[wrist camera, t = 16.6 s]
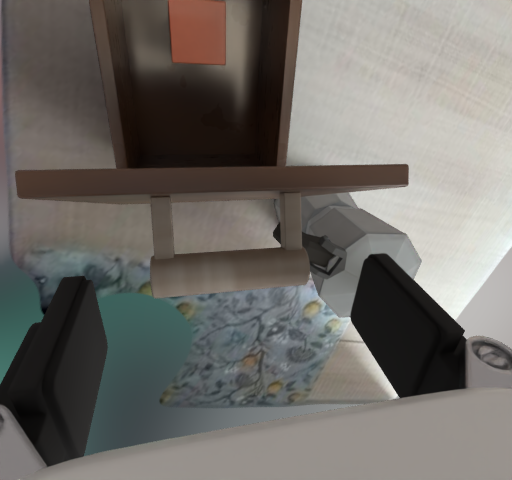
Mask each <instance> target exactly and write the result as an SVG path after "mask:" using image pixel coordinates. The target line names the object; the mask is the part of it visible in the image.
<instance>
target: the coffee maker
mask: <svg viewBox="0 0 512 480" xmlns="http://www.w3.org/2000/svg"><path fill="white" fill-rule="evenodd" d="M274 205H275V209H276V213H277V217H278V221H279V224H278V225H277V227H276V228H275V230H274V232H273V237H274V238H275V239H276V240H277V241H278V242H279V243H280V244H281V230H280V199H276V200H275V202H274ZM301 230H302V247H304V248H305V250H306V252H307V254H308V258H309V264H310V272H311V275H312V278H313V281H314V284H315V287H316V290H317V292H318V295H319V296H320V298H321V299H322V300H323V301H324V302H325V303H326V304H327V305H328V306H329V307H330V308H331V309H332V311H333V312H334V313H335V314H336V315H337V316H338V317H350V314H351V309H352V305H353V301H354V297H355V293H356V289H357V285H358V282H359V278H360V274H361V270H362V266H363V262H364V260H365V259H366V258H368V256H369V255H370V254H379V253H386V254H388V255H389V256H390V257H391V258H392V259H393V260H394V261H395V262H396V263H397V264H398V265H399V266H400V267H401V268H402V269H403V270H404V271H405V272H406V273H407V274H408V275H409V276H410V277H411V278H412V279H413V280H414V278H415V275H416V273H417V271H418V269H419V266H420V264H421V262H422V260H421V259H420V257H419V255H418V253H417V251H416V250H415V248H414V246H413V244H412V243H411V241H410V239H409V237H408V236H407V234H406V233H403V232H401V231H399V230H398V229H396V228H394V227H392V226H391V225H389V224H387V223H385V222H384V221H382V220H380V219H378V218H377V217H375V216H373V215H372V214H370V213H368V212H366V211H365V210H363V209H359V208H358V207H357V205H356V204H355V202H354V200H353V199H352V197H351V196H350V194H349V193H348V192H346V193H336V194H325V195H315V196H305V197H301Z"/></svg>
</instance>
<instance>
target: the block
mask: <svg viewBox="0 0 512 480" xmlns="http://www.w3.org/2000/svg"><path fill="white" fill-rule="evenodd" d="M168 12H169V27H170V42H171V57H172V62H173V63H187V64H208V65H225V64H226V2H225V1H217V0H168Z"/></svg>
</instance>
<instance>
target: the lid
mask: <svg viewBox="0 0 512 480" xmlns="http://www.w3.org/2000/svg"><path fill="white" fill-rule="evenodd" d="M408 173H409V166H408V165H407V164H384V165H320V166H256V167H192V168H128V169H65V170H18V171H15V178H16V186H17V195H18V197H19V198H21V199H38V200H55V201H72V202H89V203H107V204H146V203H151V216H152V230H153V244H154V256H152V257H151V261H150V281H151V290H152V295H153V297H154V298H165V297H176V296H187V295H198V294H209V293H220V292H231V291H242V290H253V289H264V288H275V287H286V286H297V285H305V284H307V282H308V280H309V275H310V264H309V258H308V254H307V252H306V250H305V248H304V247H302V230H301V197H305V196H315V195H325V194H336V193H346V192H356V191H366V190H377V189H387V188H397V187H406V186H408ZM257 199H280V230H281V247H279V248H264V249H249V250H234V251H219V252H204V253H189V254H175V253H174V237H173V222H172V207H171V203H174V202H202V201H229V200H257Z"/></svg>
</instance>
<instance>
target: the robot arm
mask: <svg viewBox="0 0 512 480" xmlns="http://www.w3.org/2000/svg"><path fill="white" fill-rule="evenodd" d="M350 317H351V321H352V323H353V325H354V327H355V328H356V330H357V331H358V333H359V334H360V336H361V338H362V339H363V341H364V342H365V344H366V345H367V347H368V349H369V350H370V352H371V353H372V355H373V356H374V358H375V360H376V361H377V363H378V364H379V366H380V367H381V369H382V371H383V372H384V374H385V375H386V377H387V379H388V380H389V382H390V383H391V385H392V386H393V388H394V390H395V391H396V393H397V394H398V396H399V397H400V398H399V399H393V400H387V401H381V402H375V403H369V404H363V405H358V406H352V407H346V408H340V409H334V410H328V411H323V412H317V413H311V414H306V415H300V416H294V417H288V418H283V419H277V420H272V421H266V422H260V423H255V424H249V425H243V426H238V427H232V428H226V429H221V430H216V431H210V432H205V433H199V434H193V435H188V436H182V437H177V438H171V439H166V440H160V441H156V442H150V443H145V444H140V445H136V446H130V447H125V448H120V449H115V450H110V451H105V452H101V453H96V454H92V455H88V456H84V453H85V449H86V444H87V439H88V435H89V431H90V426H91V422H92V417H93V413H94V408H95V404H96V399H97V395H98V390H99V386H100V381H101V377H102V372H103V368H104V363H105V359H106V354H107V339H106V335H105V330H104V327H103V322H102V318H101V314H100V310H99V306H98V302H97V298H96V293H95V289H94V285H93V282H92V280H86V278H85V277H84V276H75V277H64V278H63V279H62V280H61V282H60V284H59V286H58V288H57V290H56V293H55V295H54V297H53V299H52V301H51V303H50V305H49V307H48V309H47V311H46V313H45V315H44V317H43V319H42V322H39V323H34V324H33V325H32V326H31V327H30V328H29V330H28V332H27V334H26V336H25V338H24V340H23V342H22V344H21V346H20V348H19V350H18V352H17V353H16V355H15V357H14V359H13V361H12V363H11V365H10V367H9V369H8V371H7V373H6V375H5V377H4V379H3V381H2V383H1V384H0V480H512V350H511V349H510V348H509V347H507V346H506V345H504V344H503V343H501V342H499V341H497V340H494V339H492V338H489V337H484V336H473V337H470V338H469V339H467V340H466V338H465V337H464V336H463V333H464V332H465V330H464V329H463V328H461V326H460V325H459V324H458V323H457V322H456V321H455V320H454V319H453V318H452V317H451V316H450V315H449V314H448V313H447V312H446V311H445V310H444V309H443V308H442V307H440V306H439V305H438V304H437V303H436V302H435V301H434V300H433V299H432V298H431V297H430V296H429V295H428V294H427V293H426V292H425V291H424V290H423V289H422V288H421V287H420V286H419V285H418V284H417V283H416V282H415V281H414V280H413V279H412V278H411V277H410V276H409V275H408V274H407V273H406V272H405V271H404V270H403V269H402V268H401V267H400V266H399V265H398V264H397V263H396V262H395V261H394V260H393V259H392V258H391V257H390V256H389V255H388V254H386V253H379V254H370V255H369V256H368V258H366V259H365V260H364V262H363V266H362V270H361V274H360V278H359V282H358V285H357V289H356V293H355V297H354V301H353V305H352V309H351V314H350ZM83 456H84V457H83Z"/></svg>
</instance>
